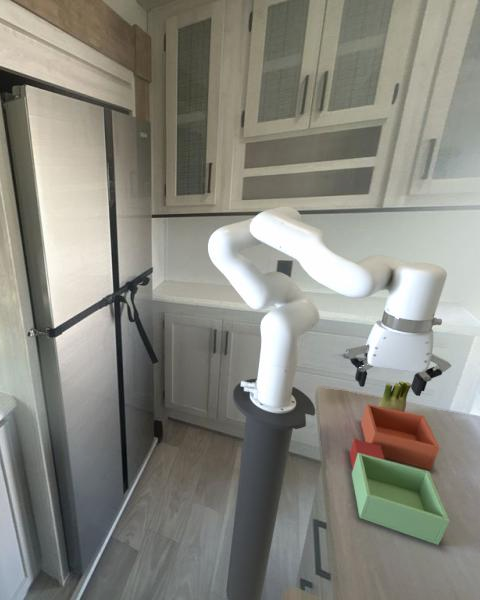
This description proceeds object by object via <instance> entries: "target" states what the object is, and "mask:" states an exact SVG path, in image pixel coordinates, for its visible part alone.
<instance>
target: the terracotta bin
mask: <svg viewBox="0 0 480 600" xmlns="http://www.w3.org/2000/svg"><path fill="white" fill-rule="evenodd" d="M378 406H379V405H373V404H369V403H366V405H365V409H364V412H363V415H362V419H361V423H360V425H361V429H362V433H363V437H364V441H365V442H369V443H373V444H377V445H380V446H381V449H382V452H383V456H384V459H388V460H391V461H394V462H398V463H399V462H400V463H403V464H407V465H409V466H414V467H418V468H423V469H426V470H430V471H432V467H433V466H434V463H435V461H436V459H437V456H438V454H439V451H440V446H439V443H438V442H437V440H436V438H435V436H434V433H433V432H432V429H431V427H430V425H429V424H428V423H429V422H428V421H427V419H426V417H425V415H421V414H416V413H411V412H406V411H404V412H402V411H397V410H393V409H388V408H383V407H378Z"/></svg>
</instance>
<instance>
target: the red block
mask: <svg viewBox="0 0 480 600" xmlns="http://www.w3.org/2000/svg"><path fill="white" fill-rule="evenodd" d="M358 453H361V454H365V455H369V456H373V457H376V458H380V459H384V460H386V458H384V456H383V452H382V449H381V446H380V445H377V444H373V443H369V442H366V441H365V440H361V439H357V438H353V440H352V444H351V447H350V451H349V456H350V463H351V468H352V470H353V468H354V464H355V461H356V458H357V454H358Z"/></svg>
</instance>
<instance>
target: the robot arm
mask: <svg viewBox="0 0 480 600" xmlns="http://www.w3.org/2000/svg"><path fill="white" fill-rule="evenodd" d="M262 244H266V245H267V246H269V247H271V248H273V249H275V250H278V251H279V252H281V253H283V254H285V255H286V256H289V257H290V258H292V259H294V260H296V261H297V262H298V263H299V265H300V266H301V268H302V269H303V270H304V271H305V272H306V274H307V275H308V276H309V277H310V278H311V279H313V280H314V281H316V282H317V283H319V284H320V285H323V286H324V287H326V288H328V289H330V290H332V291H333V292H336V293H338V294H340V295H341V296H344V297H348V298H351V299H364V298H365V299H366V298H368V297H371V296H373V295H374V294H377V293H378V292H380V291H388V294H387V297H386V301H385V304H384V305H385V306H384V309H383V314H382V316H381V317H382V318H381V320H377V321H375V323H374V325H373V327H372V328H371V330H370V332H369V335H368V338H367V340H366V343H365V345H361V346H357V347H351V348H347V349H346V350H345V352H346V355H347V358H348V359H349V361H350V363H351V364H352V365H353V366H354V367H355V368H356V372H355V376H354V379H355V381H356V382H357V383H358V385H359V387H362V388H363V387H365V385H366V380H367V376H368V372H367V370H370V369H371V368H374V367H375V368H380V369H385V370H386V369H387V370H395V371H403V372H408V373H410V372H411V373H415V374H414V375H413V380H412V382H411V387H410V389H411V391H412V392H413V394H414V395H415V396H417V397H420V396H421V394H422V392H425V390H426V387H427V385H428V382H431V381H432V379H434V378H437V377H440V376H442V375H443V373H444V372H446V371H447V370H449V369H450V368H451V367H452V364H451V363H450V361H448V360H447V359H444V358H442V357H440V356H438V355H436V354H433V351H434V350H433V349H434V330H433V327H434V326H441V325H442V322H443V319H442V318H437V317H435V315H436V311H437V308H438V305H439V302H440V299H441V296H442V292H443V289H444V287H445V284H446V280H447V276H448V273H447V270H446V269H445V268H444V267H442V266H440V265H438V264H437V265H436V264H433V263H427V262H412V261H411V262H410V261H406V260H402V259H398V258H394V257H390V256H386V255H379V254H378V255H370V256H368V257H365V258H363V259H360V260H358V261H355V262H354V261H352V260H349V259H347V258H345V257H343V256H341V255H339V254H337V253H336V252H333V250H331V249H329V248H328V247H327V245H325V243H324V232H323V231H322V230H321V229H319V228H317V227H314V226H312V225H310V224H307V223H305V222H303V221H302V214H301V213H300V212H299V211H298V210H297V209H296V208H294V207H292V206H286V205H285V206H278V207H274V208H270V209H266V210H263V211H261V212H259V213H258V214H257V215H255V216H254V217H251V218H249V219H246V220H242V221H238V222H234V223H230V224H226V225H224V226H221V227H219V228H218V229H216V230H215V231H214V232H213V233H211V235H210V237H209V239H208V242H207V251H208V256H209V258H210V260H211V262H212V264H213V265H214V266H215V267H216V269H218V271H220V272H221V274H222V275H223V276H224V277H225V278H226V280H228V282H229V283H230V285H231V286H232V287H233V289H234V290H235V291H236V292H237V293H238V296H240V297H241V298H242V300H243V301H244V302H245V304H246V305H247V306H248V307H249V308H251V309H252V310H255V311H261V310H264V309H265V310H266V309H268V308H270V307H272V306H275V307H276V308H274V309H272V310H270V311H268V313H266V314H265V315H264V317H262V319H261V322H260V325H259V327H260V329H259V330H260V337H261V338H260V339H261V340H260V341H261V343H260V344H261V345H260V352H259V353H260V354H259V363H258V370H257V378H256V379H257V380H256V383H254V382H252V383H249V382H245V381H246V380H241V382H240V383H241V387H244V391H246V392H250V399H251V400H252V402H253V403H254V404H255V405H256V406H258V407H259V408H261V409H263V410H265V411H268V412H272V413H279V414H283V413H289V412H291V411H293V410H294V409H295V407H296V400H295V398H294V397H293V396H292V395H291V394H292V389H293V387H294V382H295V377H296V370H297V365H298V359H299V347H298V339H299V338H300V337H301V336H303V335H304V334H306V333H307V332H309V331H311V330H312V329H313V328H315V327H316V326H317V325H318V324H319V322H320V312H319V310H318V307H316V305H315V304H314V302H313V301H312V300H311V299H310V297H309V296H307V294H306V293H305V292H304V291H303V289H302V288H300V286H299V285H298V284H297V283H296V282H295V281H294V279H293V278H292V277H290V276H289V275H287V274H285V273H283V272H281V271H270V272H266V273H263V272H262V271H261V270H260V269H259V268H258V267H257V266H256V265H255V263H254V262H253V261H252V260H251V259H250V258H248V257H246V256H244V255H242V254H241V253H240V251H242V250H245V249H248V248H252V247H255V246H258V245H262ZM358 355H363V356H364V357H363V358H361V359H358V358H357V357H356V356H358ZM431 362H432V363H433V364H435V366H432V367H429V366H430V363H431Z"/></svg>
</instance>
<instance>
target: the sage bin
mask: <svg viewBox="0 0 480 600" xmlns="http://www.w3.org/2000/svg"><path fill="white" fill-rule="evenodd" d="M384 459H385V458H384ZM384 459H380V458H376V457H373V456H369V455H365V454H361V453H358V454H357V458H356V461H355V464H354V468H353V469H352V471H351V478H352V484H353V489H354V495H355V499H356V506H357V511H358V516H359V519H362V520H365V521H366V522H367V521H368V522H370V523H373V524H376V525H379V526H382V527H385V528H388V529H390V530H394V531H397V532H399V533H402V534H405V535H408V536H411V537H414V538H416V539H420V540H422V541H424V542H428V543H432V544H434V545H436V546H439V545H440V542H441V541H442V539H443V536H444V535H445V532H446V530H447V528H448V526H449V524H450V522H451V521H450V518H449V515H448V514H447V511H446V509H445V506H444V504H443V501H442V499H441V496H440V494H439V491H438V489H437V487H436V485H435V482H434V480H433V478H432V475H431V473H430V471H428V470H424V469H421V468H417V467H413V466H411V465H406V464H401V463H399V462H396V461H392V460H391V461H390V460H387V459H385V460H384Z"/></svg>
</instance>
